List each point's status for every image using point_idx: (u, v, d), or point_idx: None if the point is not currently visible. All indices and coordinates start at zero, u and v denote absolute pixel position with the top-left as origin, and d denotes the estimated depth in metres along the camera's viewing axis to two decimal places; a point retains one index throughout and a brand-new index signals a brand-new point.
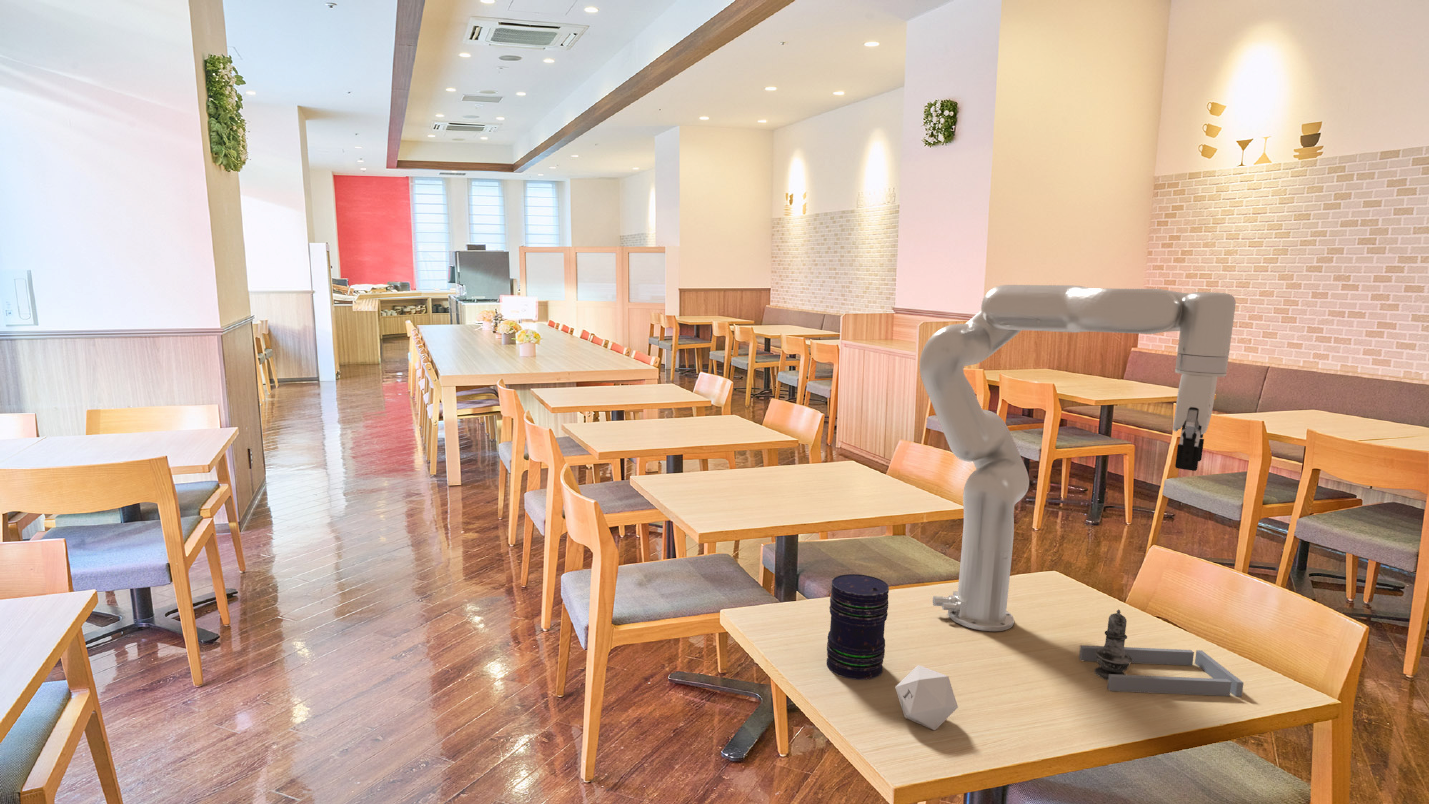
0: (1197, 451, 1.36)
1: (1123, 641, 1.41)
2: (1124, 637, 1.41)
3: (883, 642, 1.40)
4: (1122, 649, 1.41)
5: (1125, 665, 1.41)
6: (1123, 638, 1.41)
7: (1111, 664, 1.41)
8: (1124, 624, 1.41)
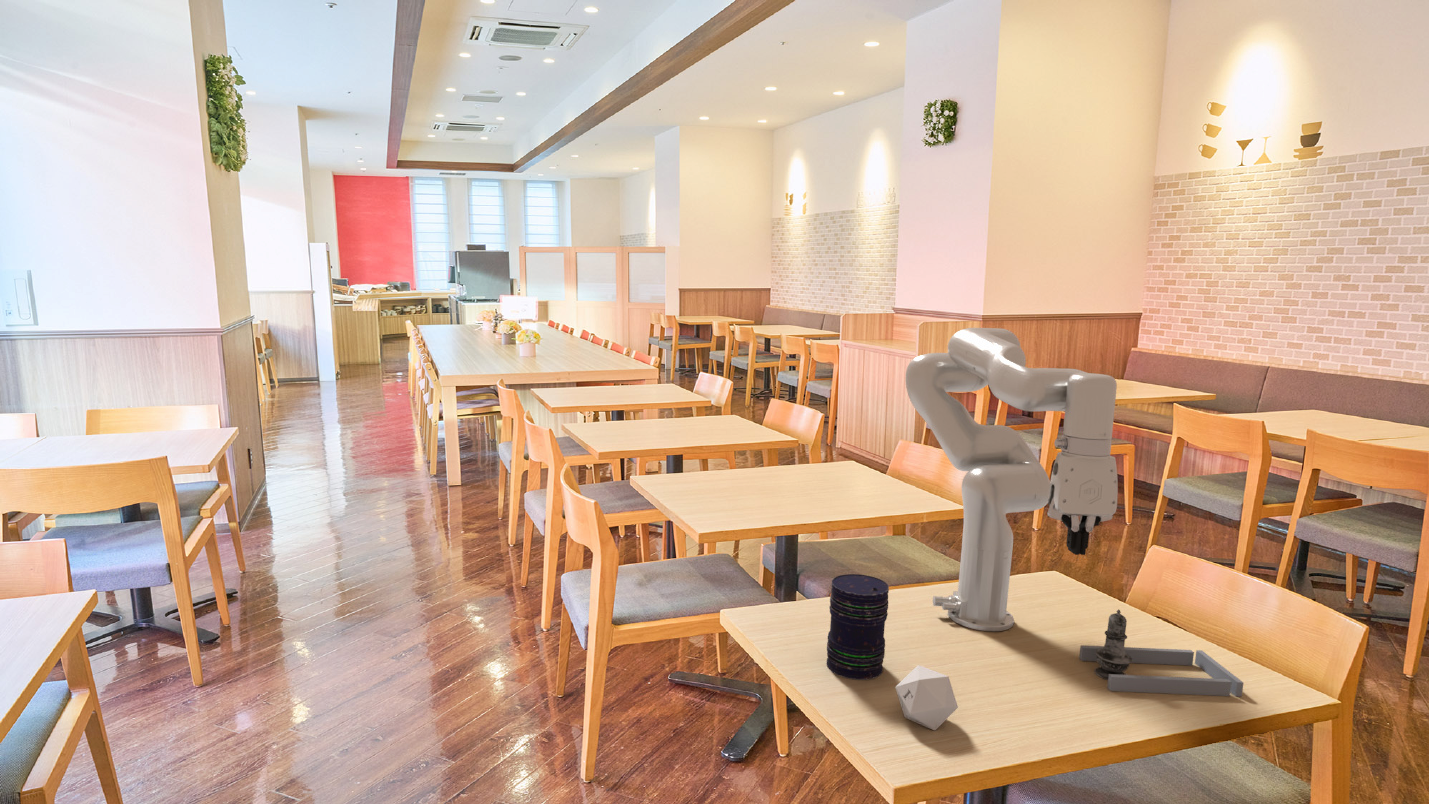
0: None
1: (1123, 641, 1.41)
2: (1124, 637, 1.41)
3: (883, 642, 1.40)
4: (1122, 649, 1.41)
5: (1125, 665, 1.41)
6: (1123, 638, 1.41)
7: (1111, 664, 1.41)
8: (1124, 624, 1.41)
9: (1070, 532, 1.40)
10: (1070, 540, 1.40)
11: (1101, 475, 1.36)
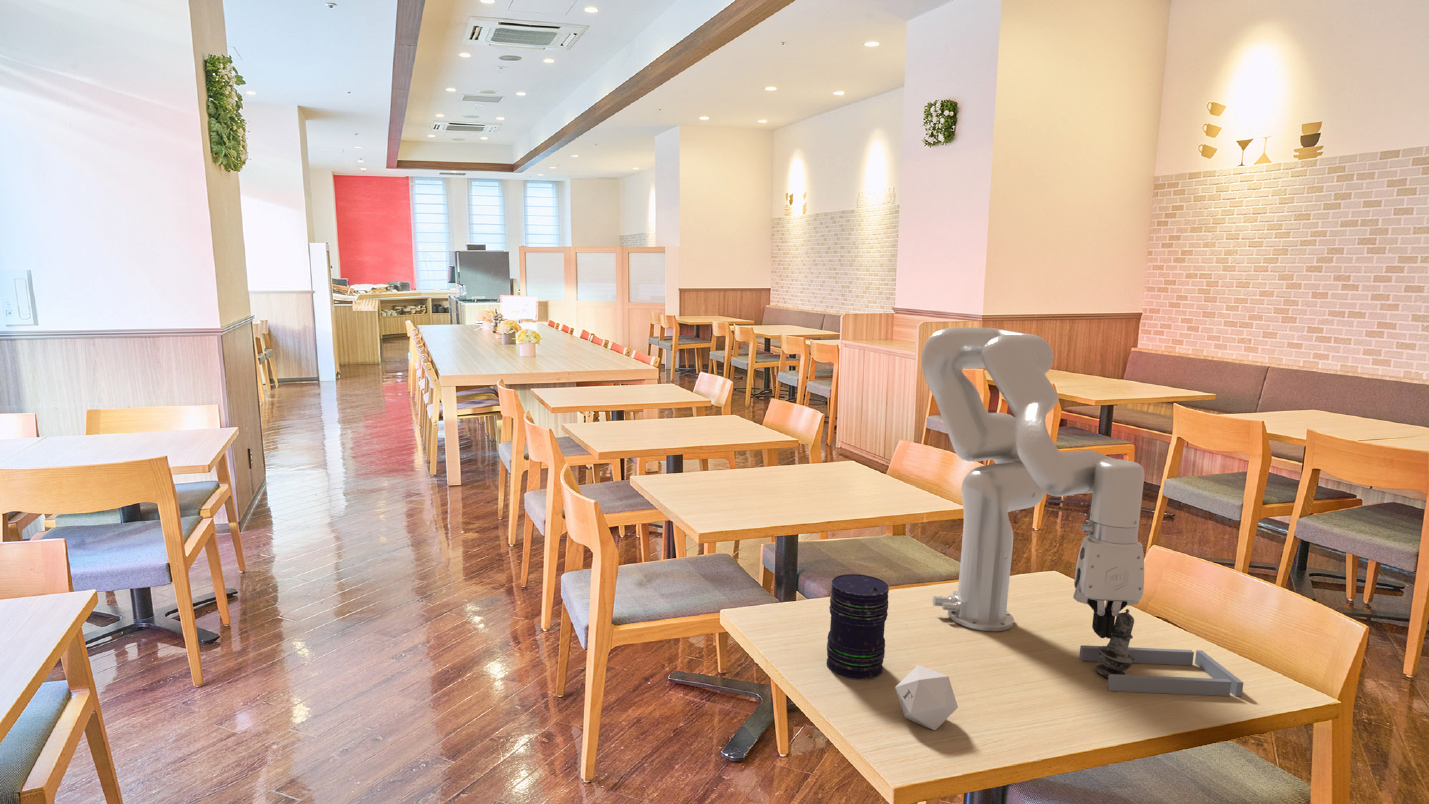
0: None
1: (1128, 640, 1.41)
2: (1130, 637, 1.41)
3: (883, 642, 1.40)
4: (1126, 648, 1.41)
5: (1128, 664, 1.40)
6: (1129, 637, 1.41)
7: (1114, 662, 1.41)
8: (1132, 624, 1.40)
9: (1096, 615, 1.41)
10: (1096, 623, 1.41)
11: (1127, 562, 1.37)
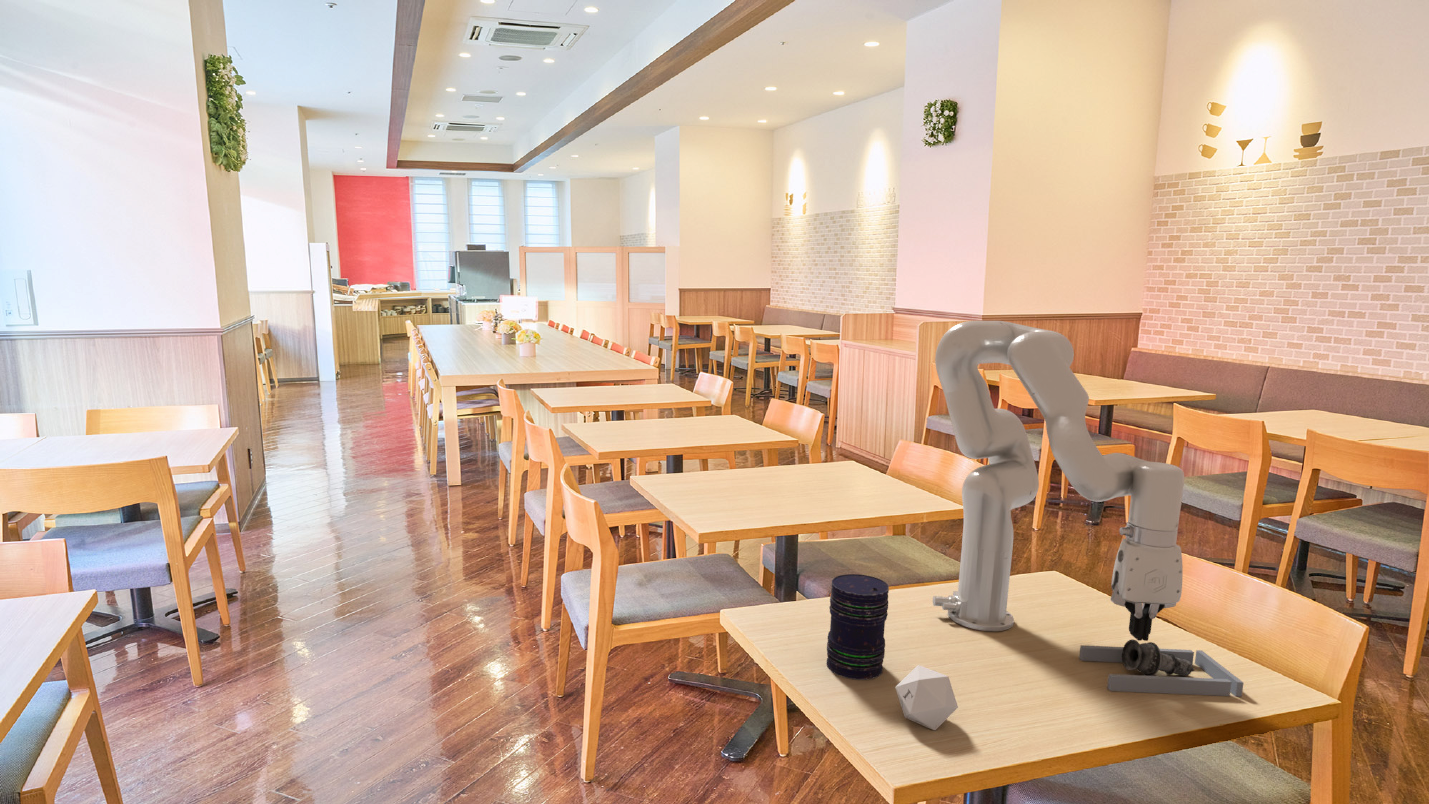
0: None
1: (1169, 670, 1.42)
2: (1174, 671, 1.42)
3: (883, 642, 1.40)
4: (1162, 668, 1.42)
5: (1153, 669, 1.41)
6: (1175, 670, 1.42)
7: (1156, 656, 1.41)
8: (1186, 673, 1.43)
9: (1133, 617, 1.41)
10: (1133, 626, 1.41)
11: (1166, 565, 1.37)
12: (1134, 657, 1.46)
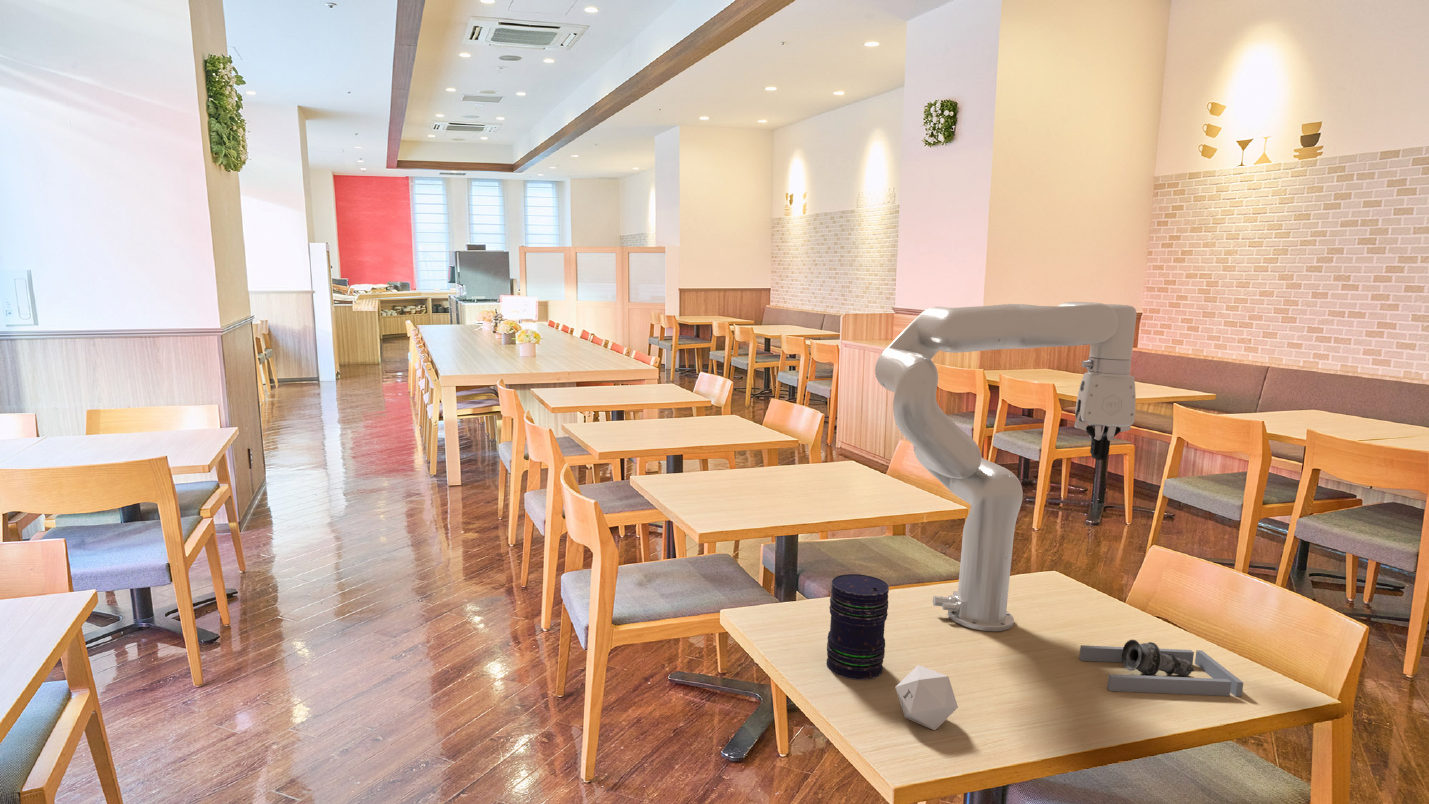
0: None
1: (1169, 670, 1.42)
2: (1174, 671, 1.42)
3: (883, 642, 1.40)
4: (1162, 668, 1.42)
5: (1153, 669, 1.41)
6: (1175, 671, 1.42)
7: (1157, 656, 1.41)
8: (1186, 673, 1.43)
9: (1093, 440, 1.63)
10: (1093, 448, 1.63)
11: (1121, 391, 1.59)
12: (1134, 657, 1.46)
